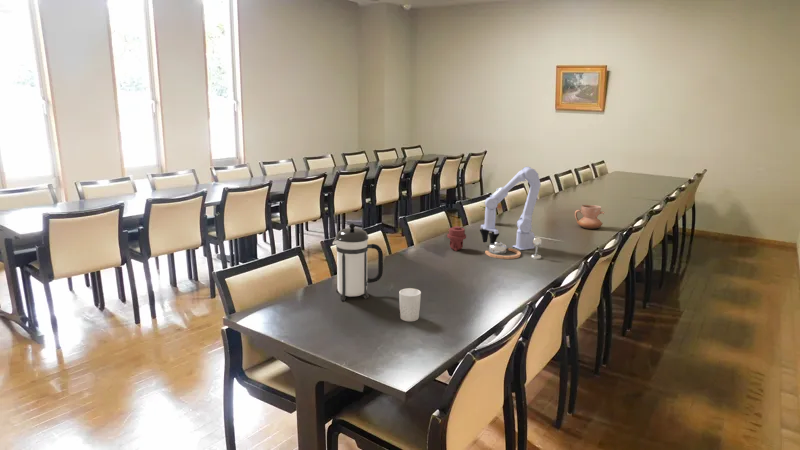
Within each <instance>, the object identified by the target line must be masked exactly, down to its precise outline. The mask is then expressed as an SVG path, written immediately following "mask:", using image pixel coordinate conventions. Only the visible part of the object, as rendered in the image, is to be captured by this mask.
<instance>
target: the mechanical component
mask: <svg viewBox="0 0 800 450" xmlns="http://www.w3.org/2000/svg"><path fill="white" fill-rule="evenodd" d="M465 231H466V230H465V228H463V227H461V226H459V225H457V226H456V225H455V226H453V227H450V228H449V229H448V233H447V235H446V237H447V238H448V239H449V247H450V249H451V250H453V251H454V252H457V251H459V250H463V247H464V240H465V239H467V234H466V232H465Z"/></svg>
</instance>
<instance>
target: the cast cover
mask: <svg viewBox="0 0 800 450" xmlns="http://www.w3.org/2000/svg"><path fill="white" fill-rule="evenodd" d="M507 246H508V245H507V244H505V243H503V242H502V241H497V240H496V241H495V242H494V243H491V244H490V243H489V249H488V251H489V252H490V253H492V254H495V255H505V254H506V253H507V249H508V247H507Z"/></svg>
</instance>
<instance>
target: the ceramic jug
mask: <svg viewBox="0 0 800 450" xmlns="http://www.w3.org/2000/svg"><path fill="white" fill-rule="evenodd" d="M601 210H602V206H600V205H595V204H582V205H580V209H577V210H575V211H574V217H575V220H576V223H577V225H578V226H579V227H581V228H583V229H588V230H593V229H594V230H595V229H599V228H600V227H602V226H603V222H602V221H601V220H600V219H598V216H600V215H601V214H603V215H605V212H604V211H601ZM578 213H581V215H582V217H581V218H580V219H579V218H578Z"/></svg>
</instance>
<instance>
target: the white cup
mask: <svg viewBox="0 0 800 450" xmlns="http://www.w3.org/2000/svg"><path fill="white" fill-rule="evenodd" d="M398 296H399V301H398V302H399V303H398V304H399V312H400V313H399V317H400V319H401V320H402V321H405V322H415V321H418V319H419V318H420V309H421V297H422V291H421V290H419V289H417V288H411V287H409V288H403V289H400V290H399V292H398Z"/></svg>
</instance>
